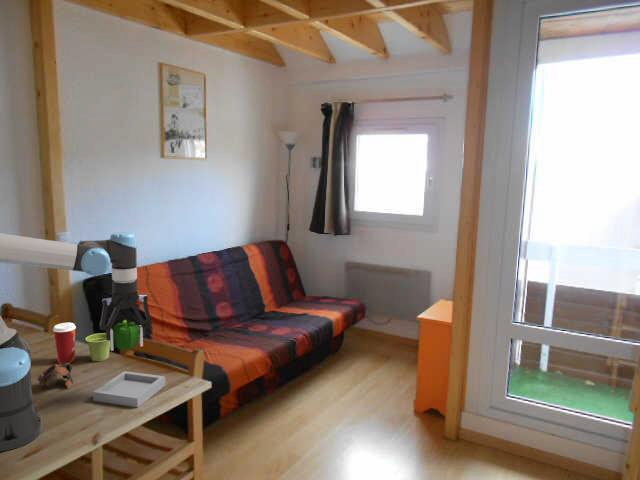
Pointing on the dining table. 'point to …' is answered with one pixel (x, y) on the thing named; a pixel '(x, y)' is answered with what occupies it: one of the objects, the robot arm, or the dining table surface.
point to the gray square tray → (129, 389)
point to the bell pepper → (126, 335)
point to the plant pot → (98, 346)
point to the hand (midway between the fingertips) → (126, 347)
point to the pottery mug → (52, 374)
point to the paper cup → (65, 342)
